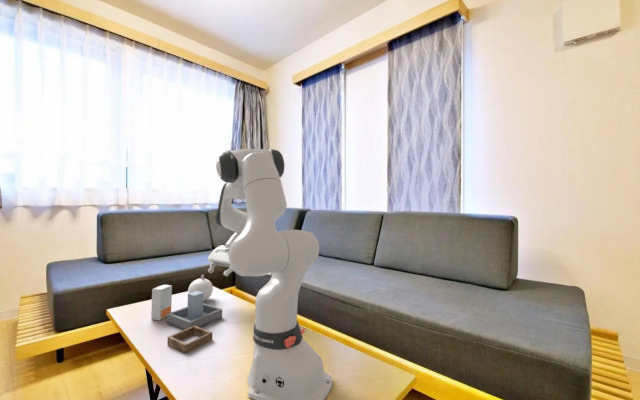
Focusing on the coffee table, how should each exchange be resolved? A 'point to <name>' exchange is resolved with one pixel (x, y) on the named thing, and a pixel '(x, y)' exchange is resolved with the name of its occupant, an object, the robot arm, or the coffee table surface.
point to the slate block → (195, 305)
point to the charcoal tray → (180, 319)
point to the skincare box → (161, 302)
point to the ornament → (201, 287)
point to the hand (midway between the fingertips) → (217, 273)
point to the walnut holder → (187, 347)
